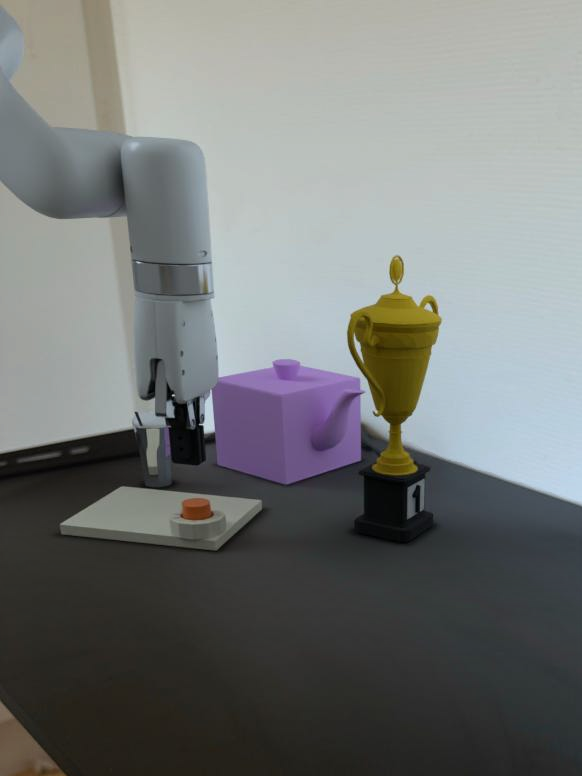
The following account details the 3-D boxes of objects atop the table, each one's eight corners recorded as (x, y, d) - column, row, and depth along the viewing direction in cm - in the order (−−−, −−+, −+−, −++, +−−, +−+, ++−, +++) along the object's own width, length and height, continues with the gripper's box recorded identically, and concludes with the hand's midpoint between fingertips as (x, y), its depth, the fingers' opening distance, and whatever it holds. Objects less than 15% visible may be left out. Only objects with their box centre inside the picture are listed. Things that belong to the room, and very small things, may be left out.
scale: (58, 535, 102) (54, 510, 101) (122, 495, 115) (119, 471, 114) (214, 552, 100) (212, 526, 99) (262, 509, 113) (260, 485, 112)
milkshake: (128, 488, 117) (118, 409, 113) (151, 476, 122) (143, 400, 117) (161, 493, 116) (152, 413, 112) (183, 480, 121) (175, 404, 116)
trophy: (390, 564, 100) (392, 265, 86) (314, 546, 103) (304, 256, 89) (466, 512, 115) (478, 253, 102) (397, 499, 119) (400, 246, 105)
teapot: (326, 496, 118) (324, 385, 112) (193, 457, 130) (183, 355, 124) (400, 470, 130) (401, 368, 123) (271, 437, 141) (266, 342, 135)
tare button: (178, 520, 101) (176, 505, 100) (190, 511, 103) (188, 496, 103) (204, 523, 100) (203, 507, 100) (215, 514, 103) (214, 499, 102)
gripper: (171, 269, 98) (185, 440, 106) (98, 285, 84) (121, 479, 93) (239, 275, 97) (248, 447, 105) (176, 292, 84) (192, 487, 92)
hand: (189, 462), depth 99 cm, fingers closed
